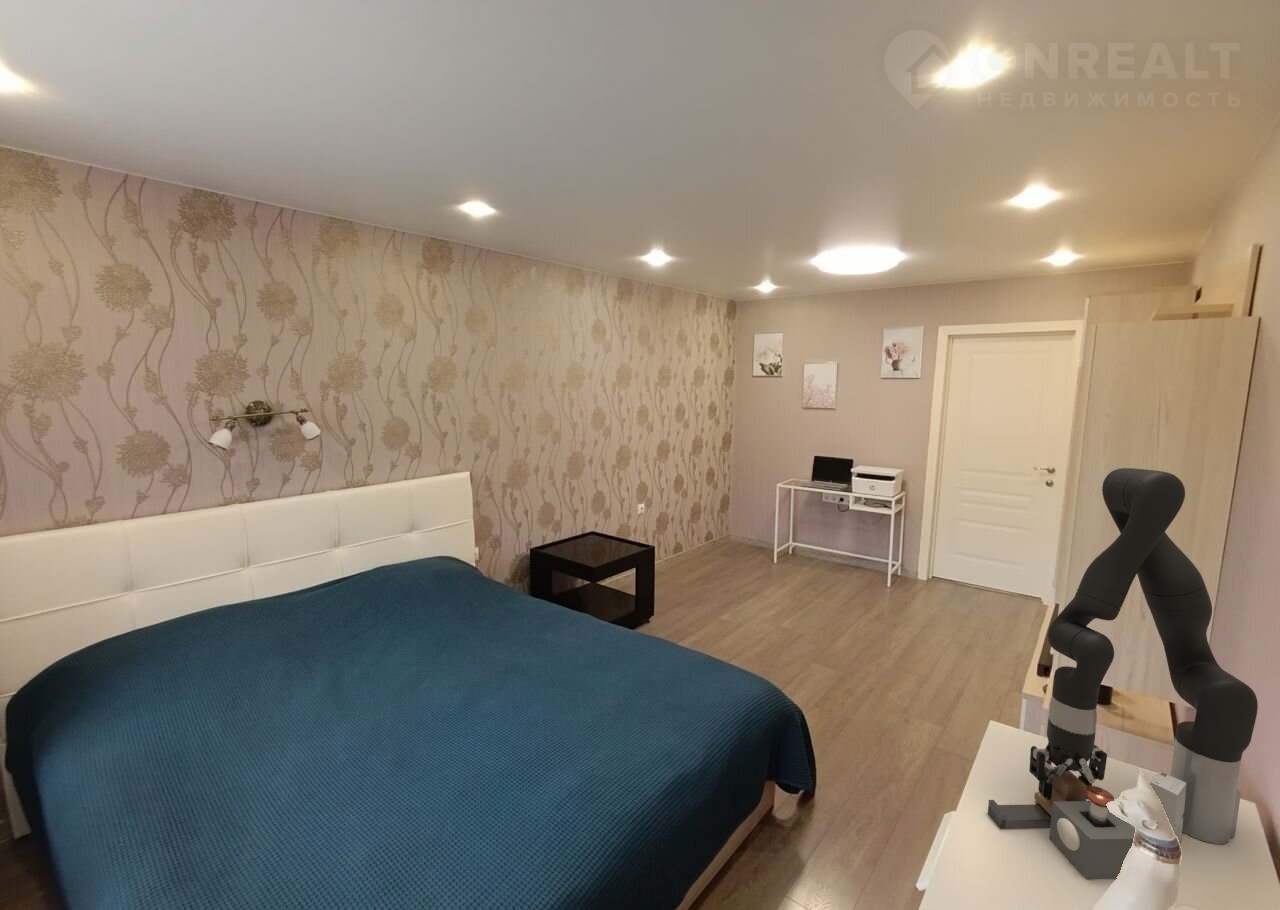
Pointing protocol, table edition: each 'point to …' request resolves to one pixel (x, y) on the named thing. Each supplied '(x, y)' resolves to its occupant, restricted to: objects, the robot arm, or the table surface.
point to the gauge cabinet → (1090, 839)
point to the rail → (1019, 816)
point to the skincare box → (1171, 799)
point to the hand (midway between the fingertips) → (1064, 796)
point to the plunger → (1098, 805)
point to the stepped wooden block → (1063, 790)
